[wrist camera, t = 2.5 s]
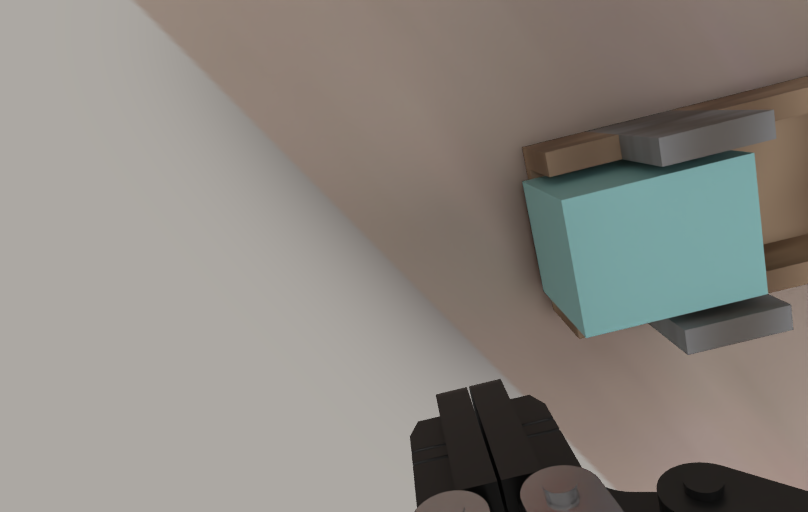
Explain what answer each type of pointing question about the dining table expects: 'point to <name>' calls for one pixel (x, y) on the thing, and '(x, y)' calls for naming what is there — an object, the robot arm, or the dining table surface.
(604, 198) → the block
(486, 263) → the dining table surface
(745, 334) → the wooden rail tray
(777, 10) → the dining table surface
